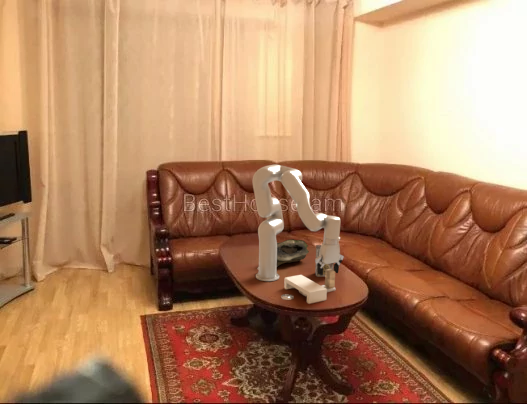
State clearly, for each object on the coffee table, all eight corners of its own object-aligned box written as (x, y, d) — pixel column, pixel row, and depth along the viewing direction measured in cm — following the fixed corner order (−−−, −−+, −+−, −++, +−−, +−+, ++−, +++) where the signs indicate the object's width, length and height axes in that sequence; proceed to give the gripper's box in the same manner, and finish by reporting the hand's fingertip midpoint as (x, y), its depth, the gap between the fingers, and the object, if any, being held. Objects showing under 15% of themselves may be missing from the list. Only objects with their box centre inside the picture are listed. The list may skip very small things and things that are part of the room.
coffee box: (331, 272, 266) (332, 244, 263) (333, 276, 260) (334, 248, 257) (314, 272, 266) (316, 244, 263) (316, 276, 260) (317, 248, 257)
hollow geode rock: (305, 266, 290) (297, 245, 297) (315, 257, 281) (306, 234, 288) (265, 272, 276) (257, 249, 283) (274, 262, 267) (266, 238, 274)
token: (278, 296, 232) (278, 295, 232) (289, 294, 235) (289, 293, 235) (285, 301, 227) (285, 299, 227) (295, 299, 230) (296, 297, 230)
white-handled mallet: (299, 292, 237) (299, 273, 235) (328, 286, 246) (329, 268, 244) (306, 297, 232) (306, 277, 230) (335, 290, 241) (336, 271, 239)
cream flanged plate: (284, 288, 243) (284, 277, 241) (300, 284, 247) (301, 274, 246) (309, 303, 224) (309, 292, 223) (326, 299, 229) (326, 289, 228)
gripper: (340, 237, 246) (337, 268, 249) (312, 240, 237) (309, 273, 241) (349, 241, 239) (346, 273, 243) (321, 244, 231) (318, 278, 234)
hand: (328, 273), depth 242 cm, fingers open, 9 cm apart
